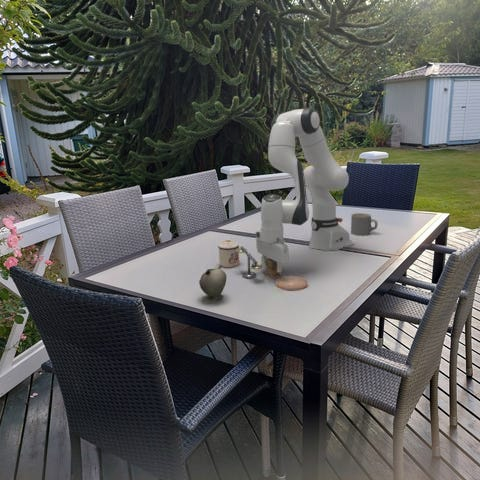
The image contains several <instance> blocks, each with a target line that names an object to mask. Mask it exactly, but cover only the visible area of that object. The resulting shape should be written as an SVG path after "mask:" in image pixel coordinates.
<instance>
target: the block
mask: <svg viewBox="0 0 480 480" xmlns="http://www.w3.org/2000/svg"><path fill="white" fill-rule="evenodd" d="M266 265H267V268H266V276H267V277H270V278H271V279H274V278H278V277H279V278H280V277H281V272H279V273H278V272H277V271H276V267H277V266H278V265H277V262H276V261H274V260H272V259H270V258H269V259H266Z"/></svg>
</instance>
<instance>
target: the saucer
mask: <svg viewBox="0 0 480 480" xmlns="http://www.w3.org/2000/svg"><path fill="white" fill-rule="evenodd" d="M275 285H276V287H277V288H278V289H280V290H285V291H300V290H304V289H306V288H307V287H308V280H307V279H306V278H304V277H301V276H297V275H285V276H280V277H279V278H277V279H276V281H275Z"/></svg>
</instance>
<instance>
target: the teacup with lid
mask: <svg viewBox="0 0 480 480" xmlns="http://www.w3.org/2000/svg"><path fill="white" fill-rule="evenodd" d="M217 247H218V258H219V259H218V260H219V267H220V266H221V268H235V267H236V266H238V265H239V264H240V255H239V254H240V253H238V252H236V250H237V249H240V245H239V243H238V242H235V241H233V240H231V238H226V239H225V241H223V242H220V243H219V244H218V246H217Z"/></svg>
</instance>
